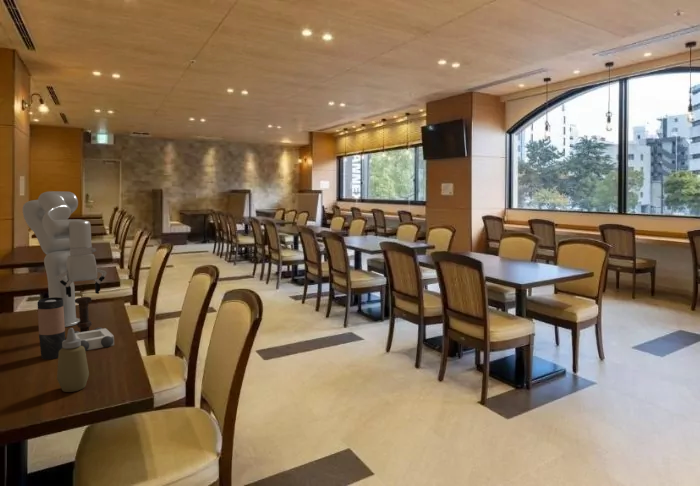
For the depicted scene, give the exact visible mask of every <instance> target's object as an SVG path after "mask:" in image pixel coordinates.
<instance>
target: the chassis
mask: <svg viewBox="0 0 700 486" xmlns="http://www.w3.org/2000/svg"><path fill="white" fill-rule="evenodd" d="M74 332H75V336H76V338H77V339H80V340H81V346H83V347H84V348H85V352H86V351H90V350H97V349H101V348H110V347H113V346H115V336H114V334H113V333H112V332H110V331H109V330H108V328H105V327H104V328H102V327H95V328H94V329H92V330H89V331H85V332H80V331H78V330H77V331H76V330H74Z"/></svg>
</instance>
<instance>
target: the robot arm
mask: <svg viewBox="0 0 700 486" xmlns="http://www.w3.org/2000/svg"><path fill="white" fill-rule="evenodd" d="M78 206H79V200H78V197H77V196H76V194H75V193H74V192H71V191H58V190H57V191H53V190H50V191H45V192H42V193H40V194H39V196H38V197H37V199H33V200H29V201H26V202H25V203H23V206H22V214H23V219H24V221H25V223H26V224H27V226H28V228H29V229H30V230H31V231H32V232H33V233H34V235H35V237H36V239H37V241H38V243H39V246H40V248H41V250H42V252H43V253H44V254H45V257H44V258H43V259H44V260H43V263H44V264H43V265H44V268H45V272H46V278H47V288H48V289H47V290H48V298H54V297H58V298H63V307H64V322H65V328H67V327H71V326H76V325H77V323H78V322H80V317H79V318H78V317H77V313H76V303H75V299H76V295H75V293H76V292H75V289H76V288H75V282H83V281H84V282H85V281H95V283H94V292H95V294H97V295H98V294H100V292H101V283H102V282H103V281H104V280H105V277H106V276H107V274H108V272H107V271H106V270H104V269H101V268H97V267H98V265H97V261H96V257H95V254H94V253H95V252H97V248H96V247H93V245H92V229H91V228H92V225H91V222H90V221H89V220H86V219H85V220H84V219H80V218H79V219H78V218H77V219H74V218H73V219H71V218H70V217H71V215H72V214H73V213H74V212H75V211H77V209H78ZM69 218H70V219H69ZM98 273H99V274H101V276H100V277H99V278H98Z"/></svg>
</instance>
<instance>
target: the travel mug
mask: <svg viewBox="0 0 700 486" xmlns="http://www.w3.org/2000/svg"><path fill="white" fill-rule="evenodd" d="M36 303H37V318H38V319H37V320H38V321H37V322H38V338H39V339H38V340H39V347H40V349H39V350H40V358H41V359H42V360H56V359H58V356H59V351H60V350H61V349H62V348H63V347H62V342H63V341H64V340H66V327H65V322H64V307H63V298H58V297H54V298H49V297H45V298H40V299H39V300H38V301H37V302H36Z"/></svg>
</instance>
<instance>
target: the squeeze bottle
mask: <svg viewBox="0 0 700 486" xmlns="http://www.w3.org/2000/svg"><path fill="white" fill-rule="evenodd" d="M74 331H75V330H74V328H73V327H69V328H68V330H67V334H66V338H65V340H64V341H63V342H62V347H63V348H62V349H61V350H60V351H59V356H58V358H57V372H56V373H57V375H56V380H57V382H58V384H59V386H60V388H61V391H62V392H66V393H72V392H73V393H74V392H78V391H80V390H83V389H84V388H85V387H86V386H87V383H88V382H87V381H88V379H89V376H90V372H89V365H88V359H87V354H86V353H87V352H86V351H85V348H84V347H83V346H81V340H80V339H77V338H76V336H75V332H74Z"/></svg>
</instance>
